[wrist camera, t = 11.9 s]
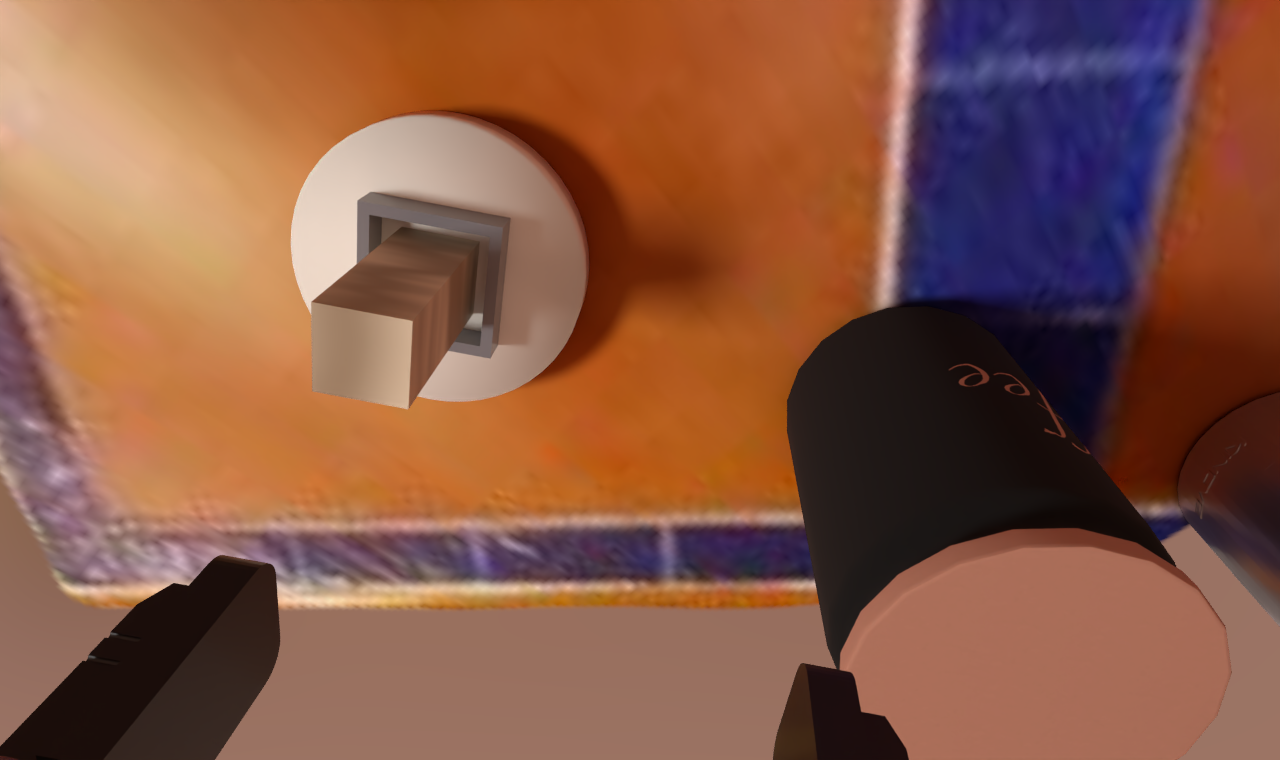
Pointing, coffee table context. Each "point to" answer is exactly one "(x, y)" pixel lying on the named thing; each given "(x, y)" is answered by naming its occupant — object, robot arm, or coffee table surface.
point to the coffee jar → (988, 558)
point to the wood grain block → (393, 317)
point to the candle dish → (461, 207)
